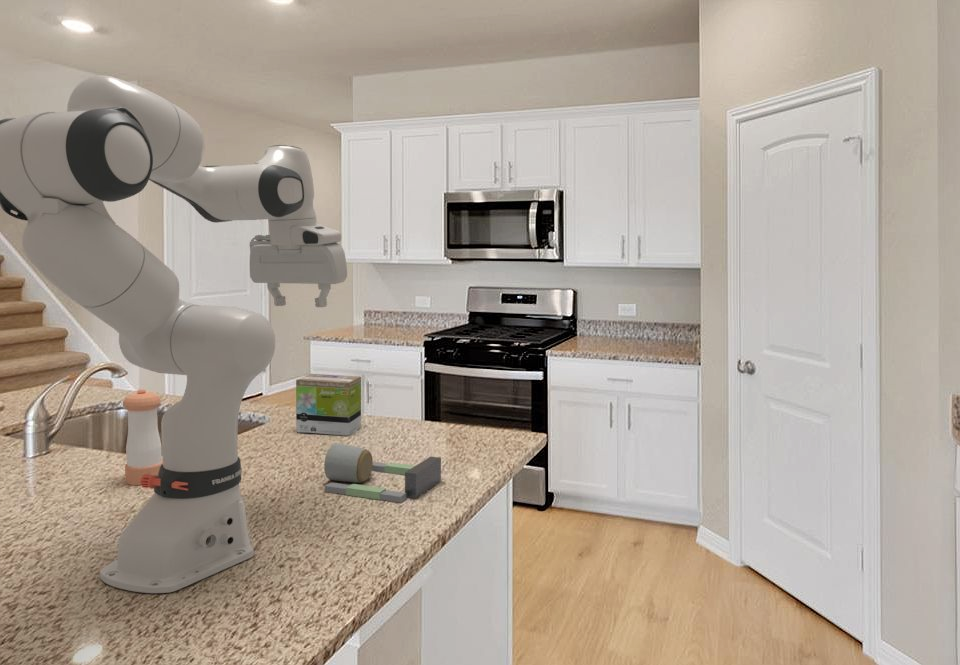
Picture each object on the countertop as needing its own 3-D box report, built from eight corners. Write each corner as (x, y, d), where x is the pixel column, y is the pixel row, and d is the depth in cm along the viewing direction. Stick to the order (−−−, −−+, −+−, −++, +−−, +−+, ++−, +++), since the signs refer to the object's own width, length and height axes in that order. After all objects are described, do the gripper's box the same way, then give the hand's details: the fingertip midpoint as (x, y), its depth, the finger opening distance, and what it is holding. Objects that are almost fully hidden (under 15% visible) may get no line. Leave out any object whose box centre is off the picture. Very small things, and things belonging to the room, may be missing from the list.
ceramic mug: (359, 488, 142) (359, 451, 141) (323, 484, 144) (323, 447, 144) (380, 473, 152) (381, 439, 152) (346, 470, 154) (346, 436, 154)
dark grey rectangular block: (416, 498, 136) (416, 473, 135) (405, 497, 137) (405, 472, 136) (440, 480, 147) (441, 457, 147) (430, 479, 148) (430, 456, 148)
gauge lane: (400, 503, 134) (400, 495, 133) (324, 491, 139) (324, 484, 139) (439, 475, 151) (439, 468, 151) (370, 466, 157) (370, 459, 157)
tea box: (295, 433, 185) (294, 378, 184) (310, 425, 195) (310, 372, 194) (349, 436, 183) (349, 381, 181) (362, 427, 193) (361, 374, 191)
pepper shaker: (149, 486, 141) (145, 393, 139) (117, 483, 143) (113, 391, 141) (171, 475, 148) (168, 387, 146) (141, 473, 150) (137, 385, 148)
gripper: (238, 236, 133) (246, 307, 136) (330, 235, 126) (336, 310, 129) (259, 233, 139) (266, 302, 142) (348, 232, 132) (354, 304, 135)
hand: (300, 306), depth 135 cm, fingers open, 8 cm apart
